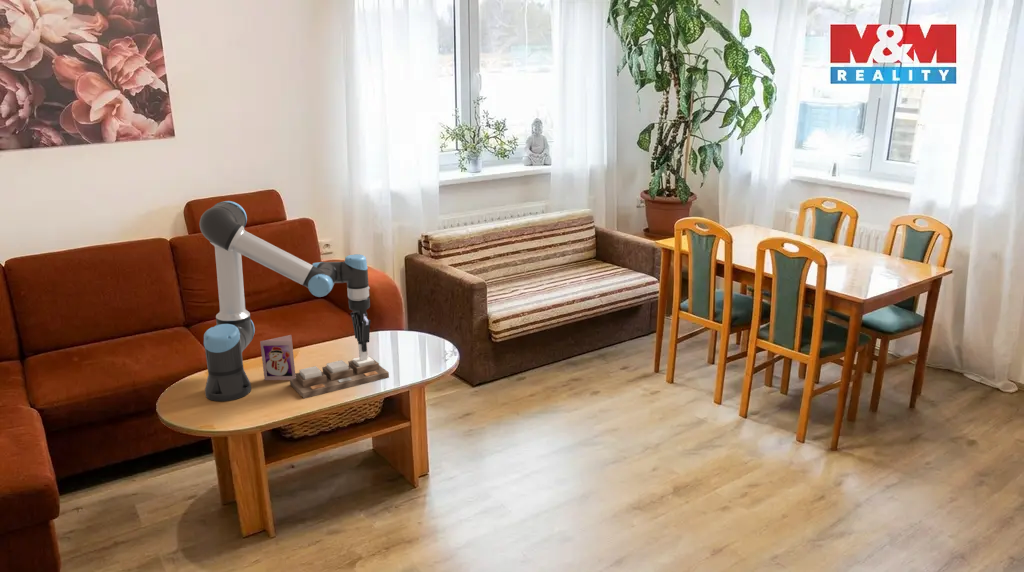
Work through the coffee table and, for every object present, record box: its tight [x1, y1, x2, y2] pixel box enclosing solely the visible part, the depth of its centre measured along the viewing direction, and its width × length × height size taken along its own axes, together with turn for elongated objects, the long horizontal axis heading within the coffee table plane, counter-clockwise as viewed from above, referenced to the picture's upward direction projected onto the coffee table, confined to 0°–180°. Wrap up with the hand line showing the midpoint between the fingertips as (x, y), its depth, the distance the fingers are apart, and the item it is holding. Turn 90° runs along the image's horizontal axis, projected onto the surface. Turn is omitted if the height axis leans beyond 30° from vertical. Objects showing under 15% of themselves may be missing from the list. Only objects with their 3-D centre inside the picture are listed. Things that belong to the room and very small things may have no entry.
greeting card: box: [259, 334, 296, 381], centre depth 288 cm, size 11×7×15 cm, turn 90°
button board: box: [289, 355, 390, 400], centre depth 285 cm, size 32×14×4 cm, turn 123°
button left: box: [299, 365, 323, 380], centre depth 281 cm, size 6×6×2 cm
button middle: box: [325, 359, 349, 373], centre depth 286 cm, size 6×6×2 cm
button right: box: [352, 355, 375, 367], centre depth 291 cm, size 6×6×2 cm
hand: (363, 358), depth 291 cm, fingers closed
